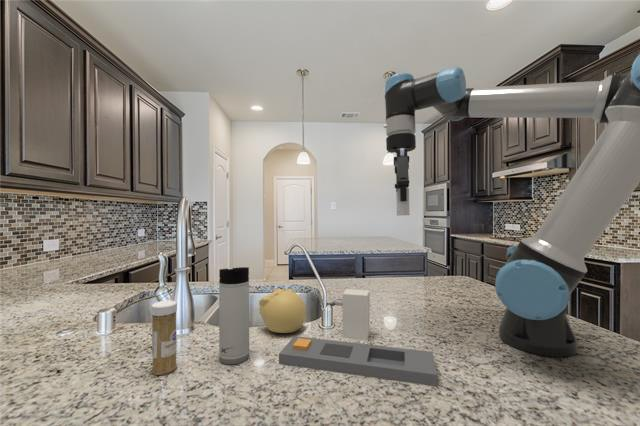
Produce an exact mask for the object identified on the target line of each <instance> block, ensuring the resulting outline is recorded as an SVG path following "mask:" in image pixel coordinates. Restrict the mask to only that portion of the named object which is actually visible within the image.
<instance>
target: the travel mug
mask: <svg viewBox="0 0 640 426" xmlns="http://www.w3.org/2000/svg"><path fill="white" fill-rule="evenodd" d="M249 271H250V267H249V266H247V267H244V266H243V267H233V268H230V269H229V268H222V269H219V275H218V276H219V277H218V278H219V280H218V284H219V286H218V301H219V303H218V308H219V309H218V332H219V333H218V334H219V335H218V336H219V337H218V344H219V346H218V347H219V349H218V352H219V354H218V355H219V356H218V357H219V358H218V359H219V361H220V362H221V363H222V364H223V365H237V364H241V363H243V362H245V361H246V360H248V359H249V357H250V277H249V276H250V272H249Z"/></svg>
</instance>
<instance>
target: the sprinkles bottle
mask: <svg viewBox="0 0 640 426" xmlns="http://www.w3.org/2000/svg"><path fill="white" fill-rule="evenodd" d="M177 303H178V302H177V301H175V300H170V299H169V300H162V301H157V302H155V303H152V304H151V308H150V314H151V318H152V321H151V323H152V324H151V325H152V326H151V327H152V328H151V356H152V357H151V358H152V369H151V373H152V374H153V375H156V376H157V375H158V376H163V375H168V374H170V373H171V372H173V371H175V370H176V369H177V367H178V364H177V311H178V304H177Z"/></svg>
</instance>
